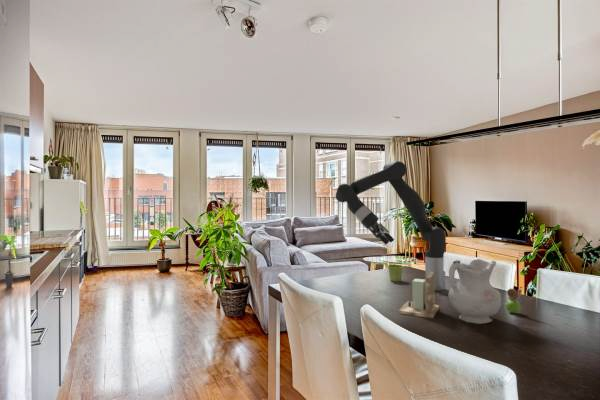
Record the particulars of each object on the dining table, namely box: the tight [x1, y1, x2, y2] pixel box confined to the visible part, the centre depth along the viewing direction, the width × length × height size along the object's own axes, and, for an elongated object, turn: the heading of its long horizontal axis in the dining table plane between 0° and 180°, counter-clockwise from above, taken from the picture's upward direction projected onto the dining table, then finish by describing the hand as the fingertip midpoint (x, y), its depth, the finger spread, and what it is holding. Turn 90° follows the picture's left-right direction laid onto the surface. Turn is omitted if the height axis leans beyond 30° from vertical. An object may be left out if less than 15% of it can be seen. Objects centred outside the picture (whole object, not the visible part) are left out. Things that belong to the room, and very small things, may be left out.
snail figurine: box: [505, 286, 523, 314], centre depth 156 cm, size 5×6×12 cm
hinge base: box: [398, 272, 440, 319], centre depth 161 cm, size 14×16×16 cm
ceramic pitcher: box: [448, 258, 502, 325], centre depth 149 cm, size 22×19×25 cm
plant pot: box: [387, 264, 405, 282], centre depth 218 cm, size 9×9×9 cm
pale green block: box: [411, 278, 426, 310], centre depth 161 cm, size 4×6×12 cm
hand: (390, 242), depth 171 cm, fingers open, 8 cm apart
